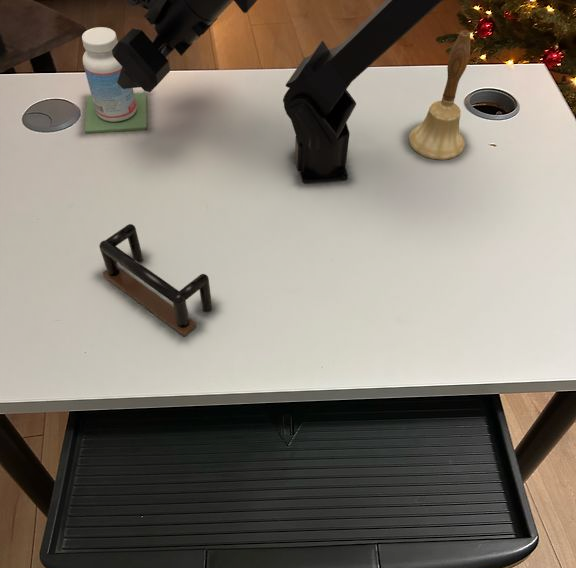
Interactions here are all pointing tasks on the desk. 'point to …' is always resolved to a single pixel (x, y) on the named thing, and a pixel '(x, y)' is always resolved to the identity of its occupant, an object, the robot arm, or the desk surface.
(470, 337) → the desk surface
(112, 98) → the pill bottle
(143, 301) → the rail rack
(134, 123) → the felt mat
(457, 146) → the hand bell
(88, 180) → the desk surface
